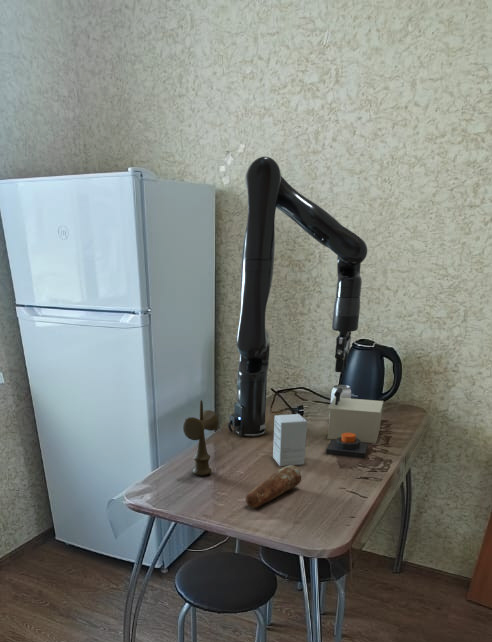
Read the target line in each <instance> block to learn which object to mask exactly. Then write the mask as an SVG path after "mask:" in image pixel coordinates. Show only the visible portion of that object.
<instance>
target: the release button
mask: <svg viewBox="0 0 492 642" xmlns="http://www.w3.org/2000/svg"><path fill="white" fill-rule="evenodd" d="M355 438H356V435H355V434H354V433H343V434H342V437H341V441H342V442H346V443H354V442H355Z"/></svg>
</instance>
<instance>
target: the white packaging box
mask: <svg viewBox="0 0 492 642" xmlns="http://www.w3.org/2000/svg"><path fill="white" fill-rule="evenodd" d="M307 427H308V421H307V420H306V419H305V417H303V416H302V415H301V414H300V413H295V414H294V413H293V414H277V415H275V414H274V424H273V448H272V458H273V459H274V461H275V462H276V464H277V465H278V466H279V467H286V466H289V465H294V466H301V465H303V466H304V465H305V461H306V444H307V432H308V431H307V430H308V428H307Z"/></svg>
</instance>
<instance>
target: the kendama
mask: <svg viewBox="0 0 492 642" xmlns="http://www.w3.org/2000/svg"><path fill="white" fill-rule="evenodd" d="M219 422H220V420H219V416H218V414H217V413H216V412H215V411H213V410H210V409H206V410H204V401H203V400H202V399H201V400H200V401H199V418H197V417H194V416H190V417H187V418H185V419H184V421H183V423H182V424H183V425H182V431H183V433H184V435H185V437H186V438H187V439H189V440H191V441H197V449H196V452H195V454H194V456H193V460H194V463H195V464H194V468H193V469H192V474H193V475H195V476H199V477H200V476H201V477H203V476H204V477H205V476H208V475H211V473H212V468H211V467H210V464H209V461H210V459H211V455H210V454H209V453H208V450H207V444H206V436H205V435H206V434H205V430H207V431H210V432H211V431H215V430H217V428H218V427H219V424H220V423H219Z"/></svg>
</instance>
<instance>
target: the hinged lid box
mask: <svg viewBox="0 0 492 642" xmlns="http://www.w3.org/2000/svg"><path fill="white" fill-rule="evenodd" d="M383 407H384V405H383V406H382V409H381V413H380V415H374V414H362V413H350V412H339V411H329V414H330V417H329V416H328V428H327V429H328V430H327V439H328V440H336V439H337V438H339V437H342V434H343V433H354V434H355V435H356V438H358V439H359V440H360V443H368V444H377V441H378V438H379V435H380V431H381V425H382V417H383V416H382V415H383V409H384V408H383Z"/></svg>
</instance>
